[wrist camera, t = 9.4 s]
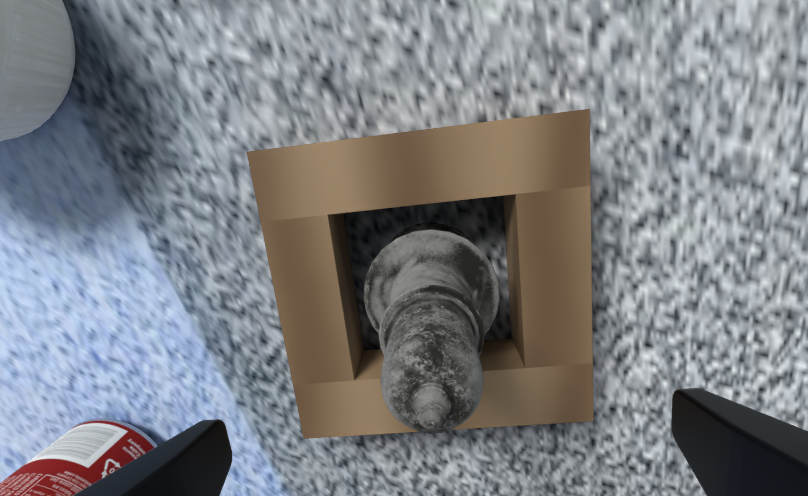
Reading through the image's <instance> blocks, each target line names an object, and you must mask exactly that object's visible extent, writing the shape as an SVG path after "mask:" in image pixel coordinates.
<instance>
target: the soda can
mask: <svg viewBox="0 0 808 496" xmlns="http://www.w3.org/2000/svg"><path fill="white" fill-rule="evenodd" d="M155 447H157V445H156V443H155V442H154V441H153V440H152V439H151V438H150V437H149V436H148V435H146V434H145V433H144V432H142V431H141V430H139V429H138V428H136V427H134V426H132V425H130V424H128V423H125V422H122V421H119V420H114V419H92V420H88V421H84V422H82V423H80V424H78V425H76V426H74V427H73V428H72V429H70V430H69V431H68V432H67V433H65V434H64V435H63V436H61V437H60V438H59V439H57V440H56V441H55V442H53V443H52V444H51V445H50V446H48V447H47V448H46V449H44V450H43V451H42V452H40V453H39V454H38V455H37V456H35V457H34V458H33V459H31V460H30V461H29V462H27V463H26V464H25V465H23V466H22V467H21V468H20V469H18V470H17V471H16V472H14V473H13V474H12V475H10V476H9V477H8V478H7V479H5V480H4V481H3V482H1V483H0V496H73V495H74V494H76V493H78V492H80V491H81V490H83V489H85V488H87V487H88V486H90V485H92V484H93V483H95V482H97V481H99V480H100V479H102V478H104V477H105V476H107V475H109V474H111V473H112V472H114V471H116V470H118V469H119V468H121V467H123V466H124V465H126V464H128V463H130V462H131V461H133V460H135V459H136V458H138V457H140V456H142V455H143V454H145V453H147V452H149V451H150V450H152V449H154V448H155Z"/></svg>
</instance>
